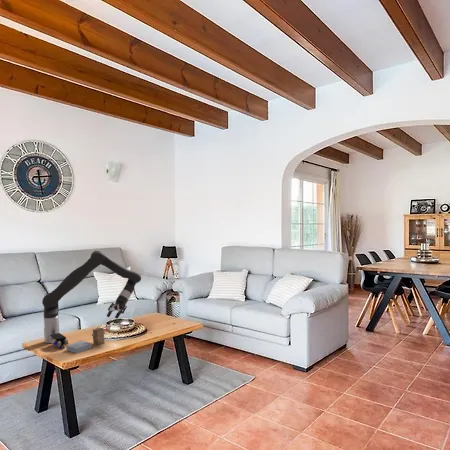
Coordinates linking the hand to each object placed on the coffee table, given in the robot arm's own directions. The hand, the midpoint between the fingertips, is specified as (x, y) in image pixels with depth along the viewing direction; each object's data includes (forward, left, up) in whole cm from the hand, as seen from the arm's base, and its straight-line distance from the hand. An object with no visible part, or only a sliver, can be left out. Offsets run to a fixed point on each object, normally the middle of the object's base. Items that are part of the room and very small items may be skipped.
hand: (111, 317), depth 265 cm
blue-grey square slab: (-3, -25, -15) cm, 29 cm away
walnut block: (0, -12, -15) cm, 19 cm away
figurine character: (-20, -28, -15) cm, 37 cm away
